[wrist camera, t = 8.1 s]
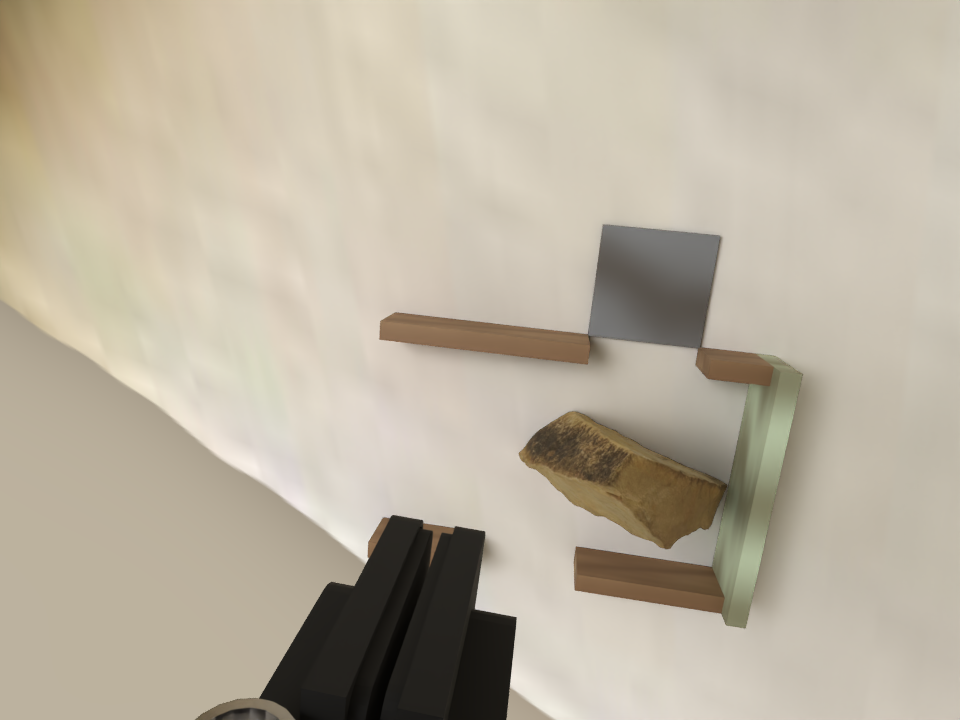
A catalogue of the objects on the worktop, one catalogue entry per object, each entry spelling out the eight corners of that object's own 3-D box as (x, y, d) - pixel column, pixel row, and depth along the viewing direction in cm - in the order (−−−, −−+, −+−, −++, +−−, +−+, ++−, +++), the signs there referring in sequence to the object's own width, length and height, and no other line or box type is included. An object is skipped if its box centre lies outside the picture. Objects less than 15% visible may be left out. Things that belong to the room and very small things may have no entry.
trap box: (401, 205, 34) (380, 203, 30) (798, 243, 32) (831, 246, 28) (382, 531, 39) (362, 566, 35) (726, 584, 36) (745, 628, 33)
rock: (792, 484, 32) (678, 348, 30) (758, 631, 27) (617, 480, 25) (634, 507, 41) (536, 402, 38) (586, 624, 35) (469, 509, 33)
